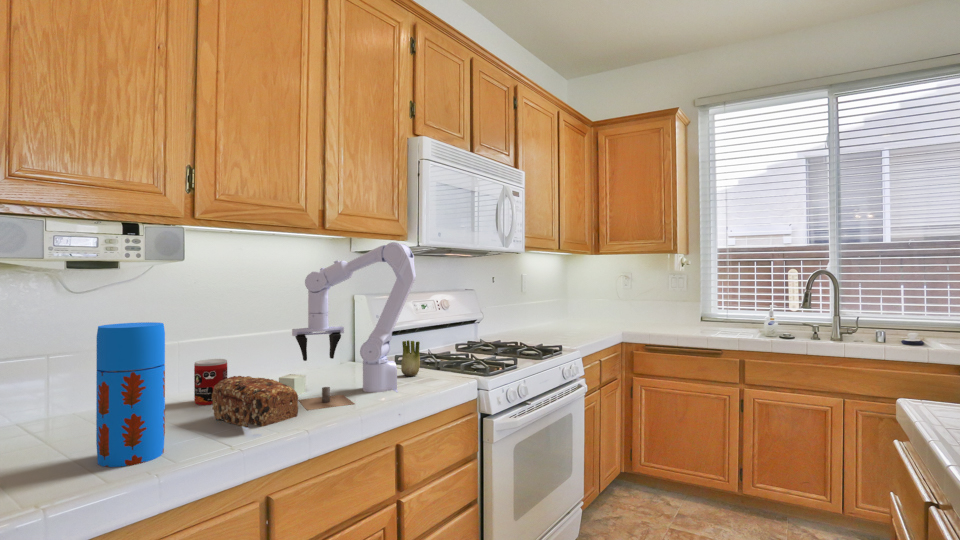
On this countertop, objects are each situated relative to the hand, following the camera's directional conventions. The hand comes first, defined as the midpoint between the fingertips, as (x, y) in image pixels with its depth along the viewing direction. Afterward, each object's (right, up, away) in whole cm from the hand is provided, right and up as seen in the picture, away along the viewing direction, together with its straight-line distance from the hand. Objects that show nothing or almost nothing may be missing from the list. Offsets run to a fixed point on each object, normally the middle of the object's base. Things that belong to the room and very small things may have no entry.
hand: (318, 359), depth 153 cm
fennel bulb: (+24, -10, +23) cm, 34 cm away
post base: (+7, -9, -17) cm, 20 cm away
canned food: (-25, -10, -12) cm, 30 cm away
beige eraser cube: (-5, -9, -7) cm, 13 cm away
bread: (-6, -10, -30) cm, 32 cm away
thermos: (-19, -9, -54) cm, 58 cm away
